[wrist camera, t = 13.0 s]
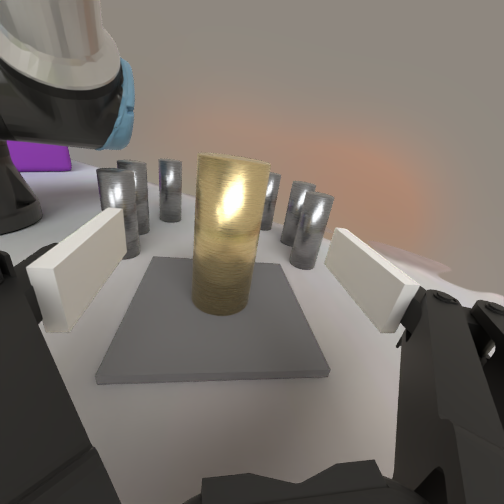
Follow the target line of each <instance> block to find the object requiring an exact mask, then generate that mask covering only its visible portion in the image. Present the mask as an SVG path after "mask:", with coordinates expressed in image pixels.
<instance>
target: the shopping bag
mask: <svg viewBox="0 0 504 504" xmlns="http://www.w3.org/2000/svg"><path fill="white" fill-rule="evenodd" d="M7 145H8V149H9V152H10V156H11V159H12V161H13V164H14V165H15V167H16V168H17V169H18V171H19V172H34V171H69V170H71V168H72V167H71V160H70V155H69V150H68V147H67V146H58V145H48V144H39V143H30V142H18V141H8V140H7Z"/></svg>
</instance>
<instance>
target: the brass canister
mask: <svg viewBox="0 0 504 504" xmlns="http://www.w3.org/2000/svg"><path fill="white" fill-rule="evenodd" d="M270 168H271V164H270V163H268V162H264V161H260V160H256V159H251V158H246V157H240V156H233V155H225V154H217V153H198V156H197V180H196V203H195V226H194V250H193V273H192V297H191V298H192V302H193V304H194V305H195V306H196V307H197V308H198V309H199V310H201V311H203V312H205V313H207V314H211V315H216V316H228V315H233V314H236V313H238V312H240V311H242V310H243V309H244V308H245V307H246V306H247V304H248V299H249V293H250V287H251V281H252V275H253V269H254V263H255V257H256V251H257V246H258V240H259V234H260V228H261V222H262V216H263V210H264V204H265V198H266V192H267V186H268V180H269V174H270Z"/></svg>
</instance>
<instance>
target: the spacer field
mask: <svg viewBox="0 0 504 504" xmlns="http://www.w3.org/2000/svg"><path fill="white" fill-rule="evenodd" d="M96 172H97V179H98V187H99V194H100V201H101V209H102V211H104V210H105V209H106V208H108V207H110V208H121V209H123V217H124V227H125V237H126V248H127V253H126V254H125V255H124V257H123V258H122V259H130V258H133V257H135V256H137V255H138V254H139V253H140V249H139V235H142V234H146V233H148V232H149V231H150V229H149V209H148V188H147V168H146V163H145V162H141V161H133V160H118V161H117V168H101V169H97V170H96ZM280 178H281V175H280V174H277V173H272V172H270V174H269V180H268V186H267V192H266V198H265V204H264V210H263V216H262V222H261V228H260V230H270V229H271V226H272V221H273V216H274V210H275V205H276V200H277V194H278V189H279V184H280ZM181 187H182V162H181V161H178V160H173V159H159V194H160V219H161V220H162V221H165V222H178V221H180V220H181ZM315 188H316V185H314V184H311V183H307V182H301V181H293V184H292V189H291V193H290V198H289V203H288V208H287V213H286V217H285V222H284V227H283V231H282V236H281V242H282V243H283V244H285V245H288V246H293V249H292V253H291V257H290V263H291V264H292V265H293V266H295V267H297V268H300V269H305V270H309V269H313V268H314V266H315V262H316V259H317V255H318V252H319V249H320V245H321V242H322V238H323V235H324V232H325V228H326V225H327V221H328V218H329V214H330V211H331V208H332V204H333V201H334V197H333V196H331V195H328V194H324V193H319V192H315Z"/></svg>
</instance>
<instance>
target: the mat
mask: <svg viewBox="0 0 504 504" xmlns="http://www.w3.org/2000/svg"><path fill="white" fill-rule="evenodd" d="M192 273H193V259H188V258H170V257H153V258H152V260H151V262H150V264H149V266H148V268H147V270H146V273H145V275H144V277H143V279H142V281H141V283H140V285H139V287H138V289H137V291H136V293H135V295H134V297H133V299H132V301H131V303H130V306H129V308H128V310H127V312H126V314H125V316H124V318H123V320H122V322H121V324H120V326H119V328H118V330H117V332H116V334H115V336H114V338H113V341H112V343H111V345H110V347H109V349H108V351H107V353H106V355H105V357H104V359H103V361H102V363H101V365H100V367H99V369H98V371H97V373H96V376H95V377H96V382H97V384H125V383H156V382H186V381H217V380H247V379H278V378H308V377H328V374H329V372H330V368H329V366H328V364H327V362H326V360H325V357H324V355H323V353H322V351H321V349H320V347H319V345H318V343H317V341H316V339H315V336H314V334H313V332H312V330H311V328H310V326H309V324H308V322H307V320H306V318H305V316H304V313H303V311H302V309H301V307H300V305H299V303H298V301H297V299H296V297H295V295H294V293H293V290H292V288H291V286H290V284H289V282H288V280H287V278H286V276H285V274H284V272H283V270H282V267H281V265H280V264H273V263H256V262H255V263H254V269H253V275H252V281H251V287H250V293H249V299H248V304H247V306H246V307H245V308H244V309H243V310H242V311H240V312H238V313H236V314H233V315H228V316H216V315H211V314H207V313H205V312H203V311H201V310H199V309H198V308H197V307H196V306H195V305H194V304H193V302H192V298H191V297H192Z"/></svg>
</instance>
